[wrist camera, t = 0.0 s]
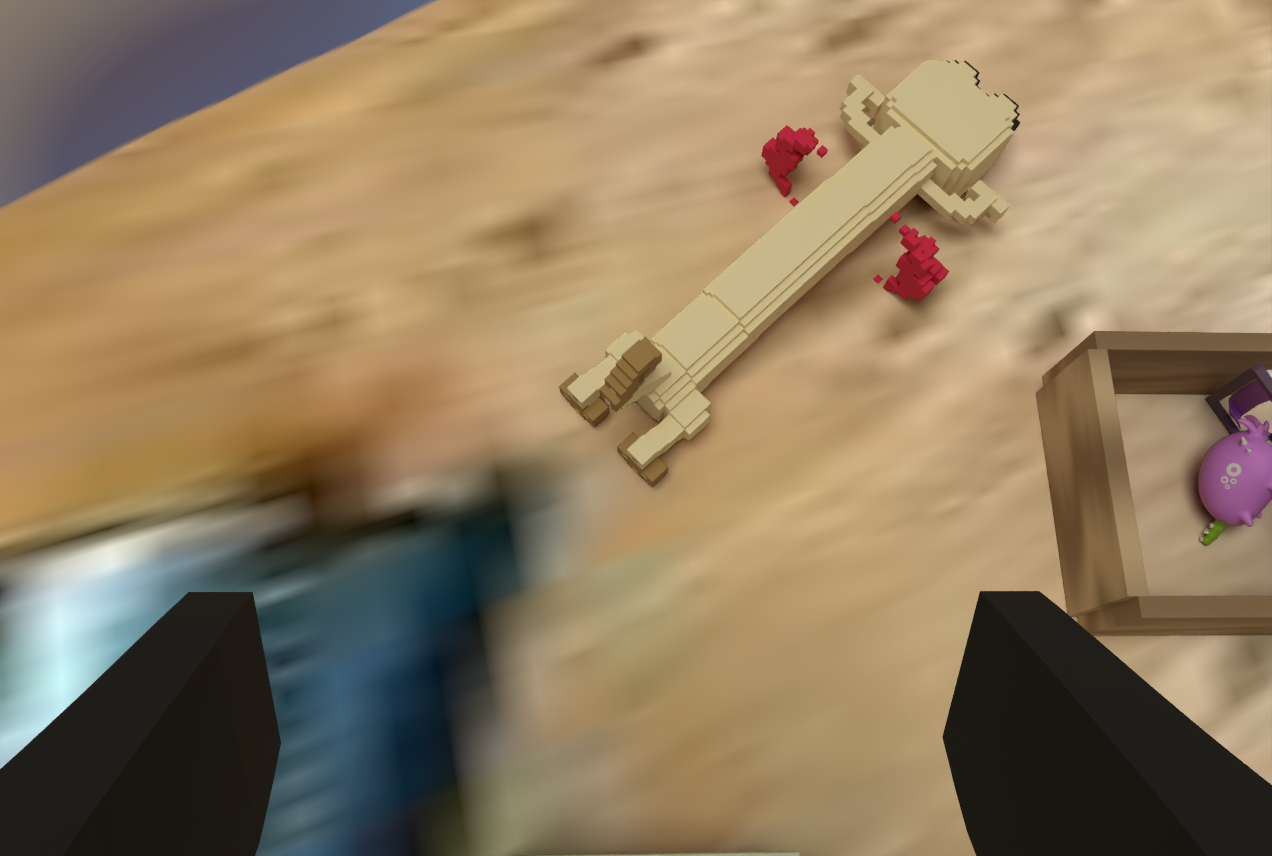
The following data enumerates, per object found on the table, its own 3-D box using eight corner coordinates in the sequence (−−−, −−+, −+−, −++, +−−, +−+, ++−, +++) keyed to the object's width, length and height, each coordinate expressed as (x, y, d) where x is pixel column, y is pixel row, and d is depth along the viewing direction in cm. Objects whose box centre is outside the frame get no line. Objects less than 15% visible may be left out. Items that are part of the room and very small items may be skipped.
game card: (1428, 555, 39) (1277, 352, 41) (1296, 622, 40) (1156, 419, 42) (1353, 562, 45) (1227, 386, 48) (1240, 620, 46) (1121, 444, 48)
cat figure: (684, 530, 46) (1060, 174, 50) (695, 487, 37) (1144, 65, 42) (532, 372, 48) (906, 43, 52) (509, 298, 39) (958, -86, 44)
